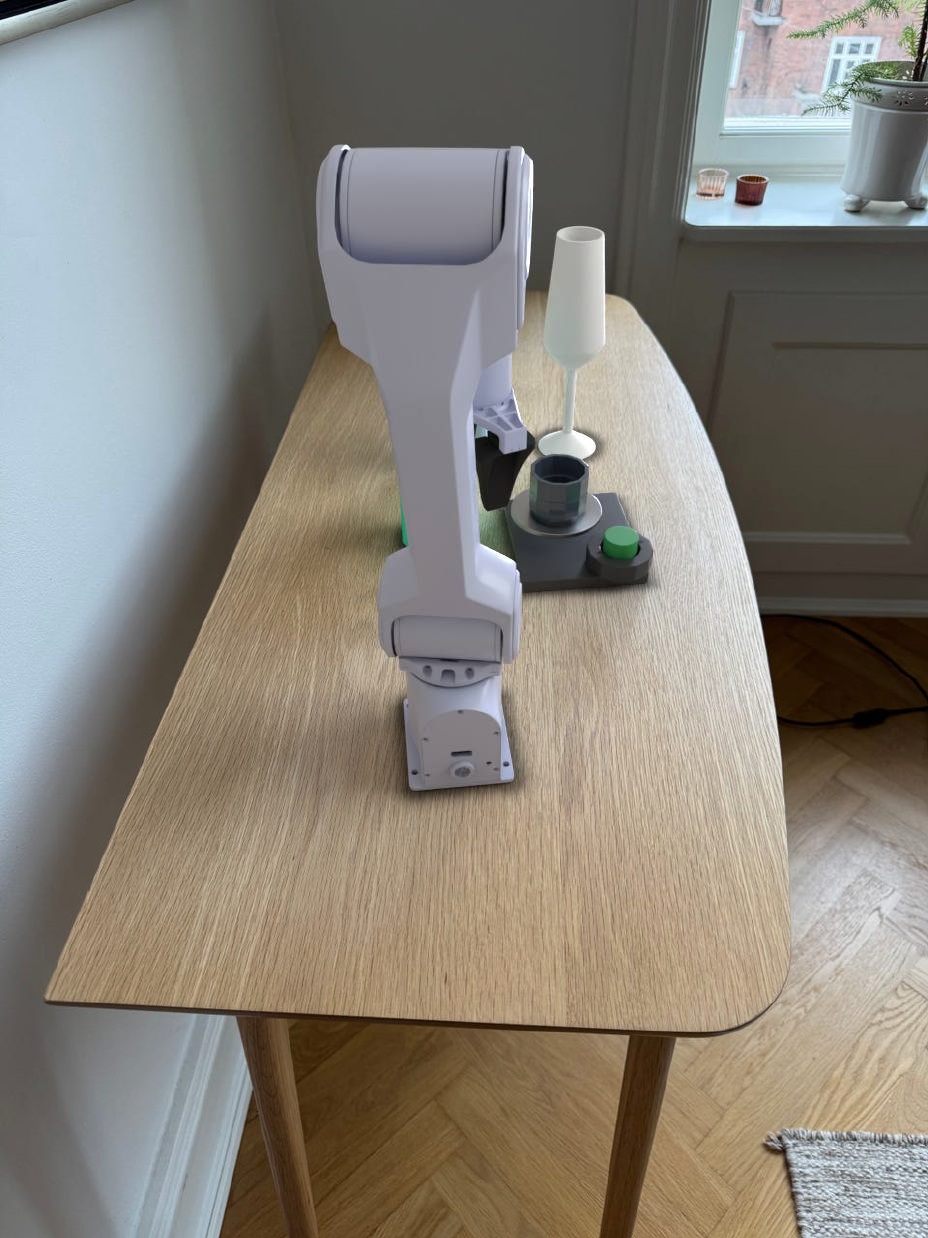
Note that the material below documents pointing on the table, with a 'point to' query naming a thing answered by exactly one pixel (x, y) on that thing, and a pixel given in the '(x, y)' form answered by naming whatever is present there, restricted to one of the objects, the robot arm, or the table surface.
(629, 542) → the tare button
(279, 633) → the table surface
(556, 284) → the champagne flute
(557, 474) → the faceted grey cup
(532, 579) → the scale
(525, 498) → the scale pan
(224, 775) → the table surface
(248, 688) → the table surface
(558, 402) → the table surface
